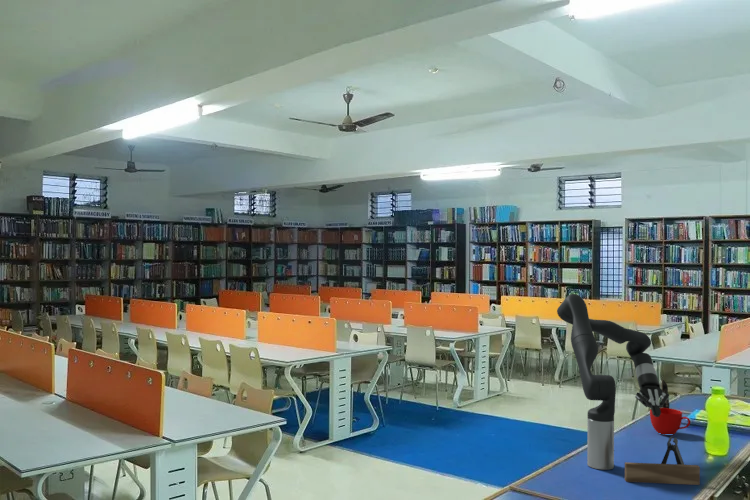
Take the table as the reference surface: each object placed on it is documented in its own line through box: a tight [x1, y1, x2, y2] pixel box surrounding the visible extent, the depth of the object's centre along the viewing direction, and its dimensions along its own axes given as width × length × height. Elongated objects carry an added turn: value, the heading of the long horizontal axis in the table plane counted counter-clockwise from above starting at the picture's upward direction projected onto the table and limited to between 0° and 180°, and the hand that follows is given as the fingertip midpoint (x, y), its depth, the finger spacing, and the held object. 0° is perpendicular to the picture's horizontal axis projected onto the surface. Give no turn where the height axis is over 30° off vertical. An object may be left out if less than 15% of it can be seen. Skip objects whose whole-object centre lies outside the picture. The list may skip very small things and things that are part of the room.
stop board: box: [624, 461, 701, 486], centre depth 220 cm, size 2×24×6 cm, turn 85°
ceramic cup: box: [649, 407, 691, 435], centre depth 283 cm, size 13×17×10 cm
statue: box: [660, 379, 670, 409], centre depth 307 cm, size 4×7×20 cm, turn 102°
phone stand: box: [660, 436, 685, 465], centre depth 231 cm, size 9×6×12 cm, turn 60°
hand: (657, 415), depth 246 cm, fingers closed
